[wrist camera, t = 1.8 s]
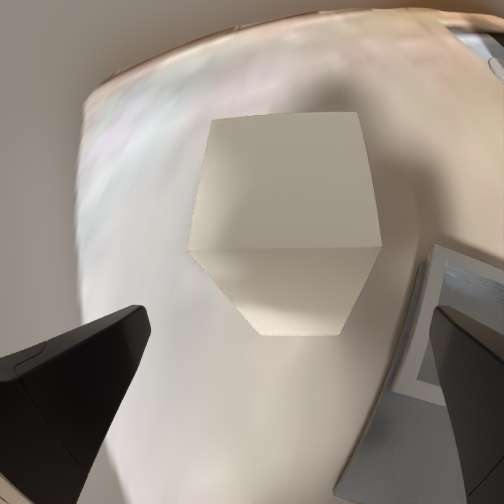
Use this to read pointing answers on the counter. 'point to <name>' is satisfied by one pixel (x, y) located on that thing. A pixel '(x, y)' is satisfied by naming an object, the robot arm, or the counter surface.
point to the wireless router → (497, 67)
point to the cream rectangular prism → (287, 219)
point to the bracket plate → (421, 393)
